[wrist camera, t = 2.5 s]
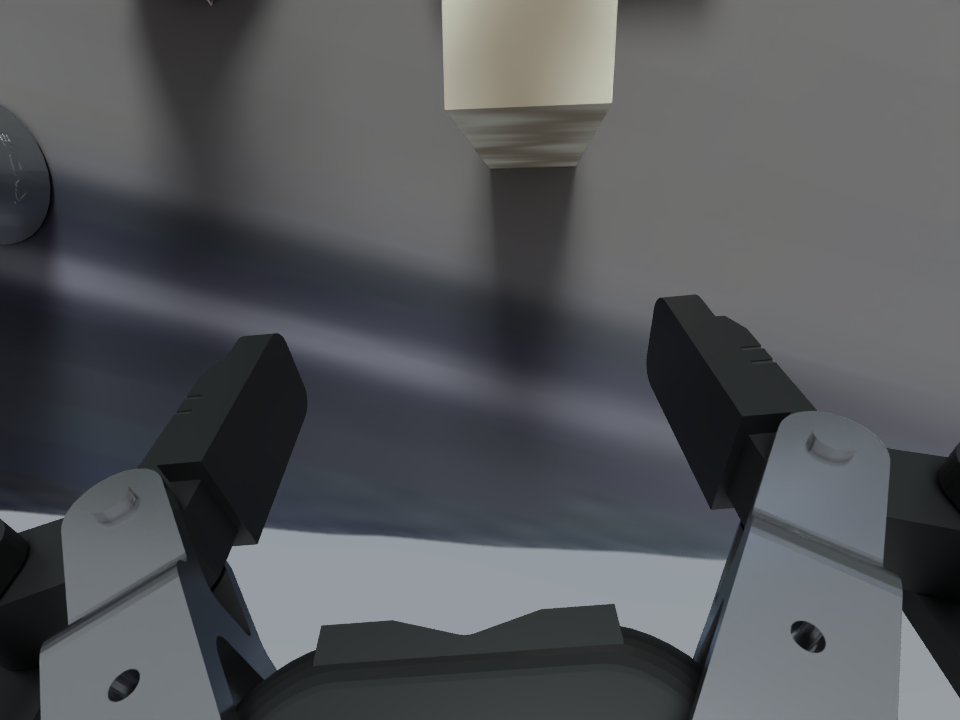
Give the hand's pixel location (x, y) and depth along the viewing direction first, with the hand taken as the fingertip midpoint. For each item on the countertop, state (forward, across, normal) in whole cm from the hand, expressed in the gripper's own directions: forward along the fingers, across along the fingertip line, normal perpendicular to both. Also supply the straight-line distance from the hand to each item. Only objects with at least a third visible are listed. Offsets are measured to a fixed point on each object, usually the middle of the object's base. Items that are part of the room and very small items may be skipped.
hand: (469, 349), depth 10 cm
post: (+21, -4, 0) cm, 22 cm away
